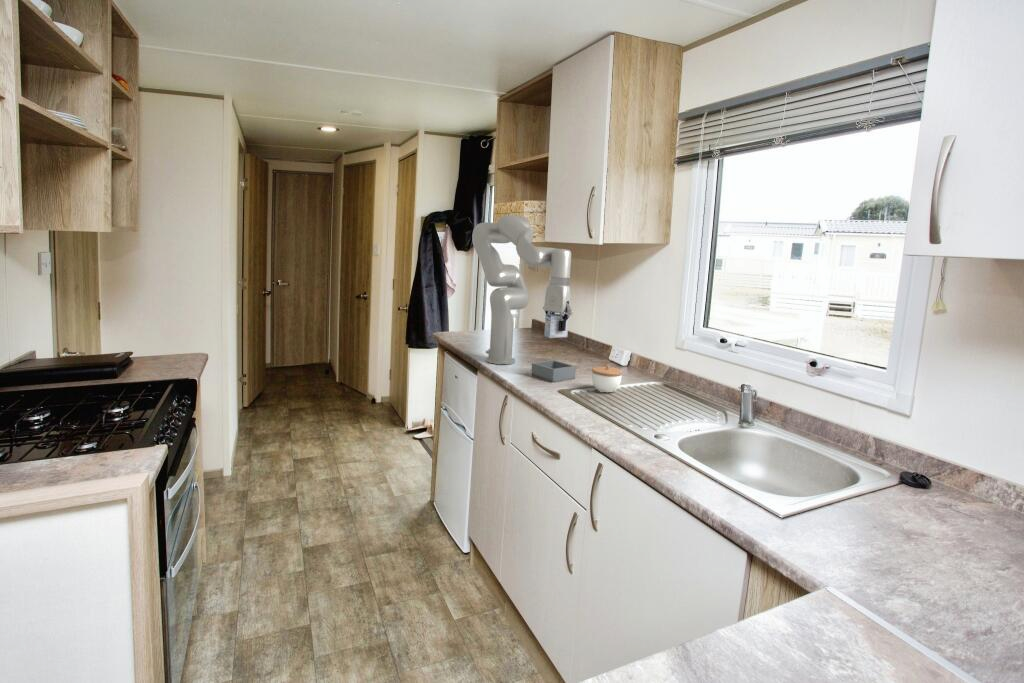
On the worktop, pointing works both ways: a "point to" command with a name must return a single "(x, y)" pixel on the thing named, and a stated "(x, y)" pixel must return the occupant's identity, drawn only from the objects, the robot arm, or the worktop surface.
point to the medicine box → (554, 326)
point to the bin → (553, 371)
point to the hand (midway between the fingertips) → (556, 329)
